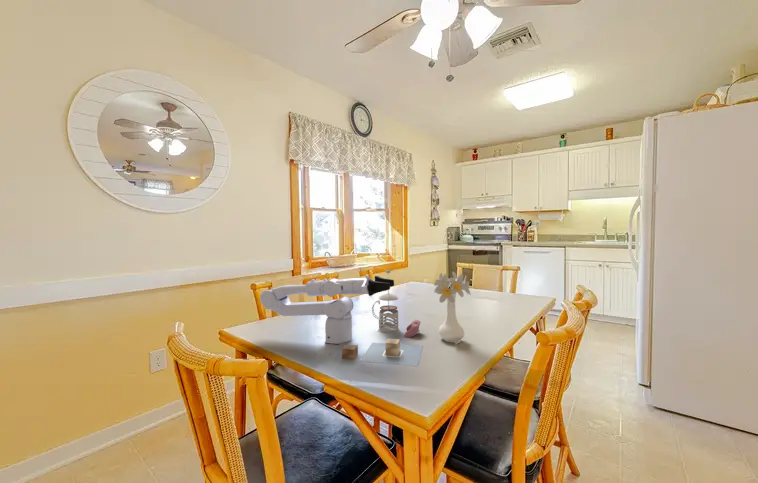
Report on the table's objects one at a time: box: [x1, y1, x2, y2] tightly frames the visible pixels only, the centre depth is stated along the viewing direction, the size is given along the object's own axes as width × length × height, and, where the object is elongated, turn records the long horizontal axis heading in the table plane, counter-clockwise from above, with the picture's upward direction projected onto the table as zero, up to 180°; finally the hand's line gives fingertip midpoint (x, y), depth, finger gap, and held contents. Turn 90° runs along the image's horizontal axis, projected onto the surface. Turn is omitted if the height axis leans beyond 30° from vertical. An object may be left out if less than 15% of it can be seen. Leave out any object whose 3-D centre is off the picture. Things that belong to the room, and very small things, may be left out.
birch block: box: [385, 338, 401, 356], centre depth 101 cm, size 4×4×4 cm
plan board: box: [359, 342, 424, 367], centre depth 102 cm, size 18×16×1 cm
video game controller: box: [403, 319, 421, 338], centre depth 121 cm, size 10×5×7 cm, turn 168°
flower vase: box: [433, 271, 472, 345], centre depth 112 cm, size 13×18×25 cm
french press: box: [371, 269, 402, 334], centre depth 126 cm, size 10×12×25 cm
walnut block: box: [341, 343, 359, 360], centre depth 100 cm, size 4×4×4 cm
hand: (391, 284), depth 111 cm, fingers open, 7 cm apart
